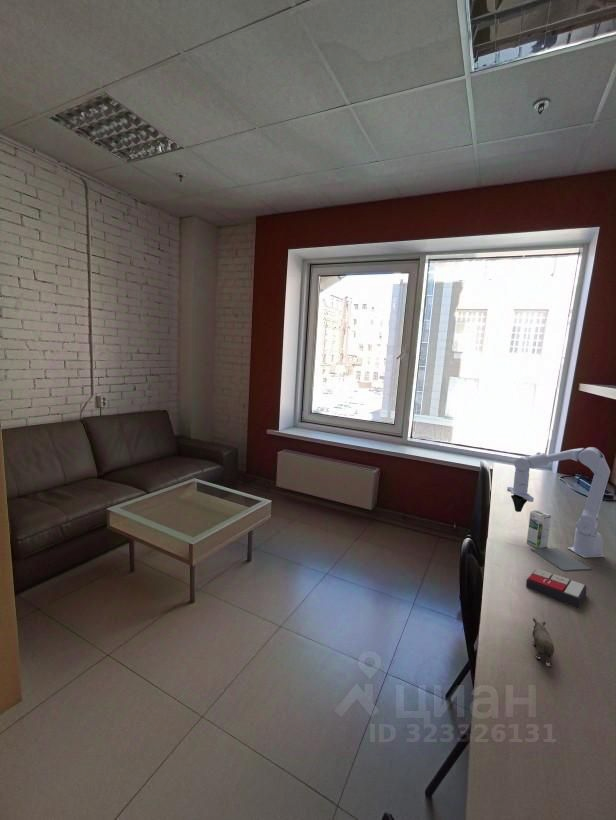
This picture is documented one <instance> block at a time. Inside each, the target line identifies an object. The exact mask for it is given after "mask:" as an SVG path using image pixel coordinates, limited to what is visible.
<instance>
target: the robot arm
mask: <svg viewBox="0 0 616 820" xmlns="http://www.w3.org/2000/svg"><path fill="white" fill-rule="evenodd" d="M565 460H573V461H575V462H579V463H581V464H582V465H584V466H586V467H587V468H589V469H590V471H591V472H592V473H593V476H592V477H593V478H592V481H591V485H590V487H589V491H588V495H587V499H586V501H585V504H584V509H583V511H582V514H581V516H580V518H579V519H578V520H577V521H576V523H575V533H574V541H573V546H569V547H567V549H568V550H570V551H571V552H573V553H574V554H577V555H579V556H580V557H582V558H604V557H605V556H604V555H603V549H604V537H603V536H602V534H601V533H599V532H598V531H597V528H598V527H599V524H600V523H599V511H600V508H601V506H602V501H603V499H604V495H605V491H606V488H607V485H608V481H609V478H610V476H611V475H610V474H611V469H610V467H609V465H608V462H607V460H606V458H605V455H604V453H602V452H601V450H599V449H598V448H597V447H594V446H588V447H586V448H584V447H579V448H573V449H568V450H564V451H560V452H554V453H552V454H547V453H545V452H542V453H541V452H540V451H539V452H536V453H535V454H532V455H528V454H527V455H525V456H521V457H519V458H517V459H516V460H514V463H513V465H514V468H515V471H514V475H513V486H507V490H506V491H507V492H509V493H511V494H512V495H510V498H511V500H512V502H513V506H514V510H515V512H516V513H521V512H522V510H523V508H524V506H525V504H526V503H527V502H529V503H533V502H534V497H533V496H531V495H530V494H529V493H528V490H529V479H530V469H537V468H543V467H547V466H549V465H550V463H551V462H552V463H553V462H560V461H565Z"/></svg>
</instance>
